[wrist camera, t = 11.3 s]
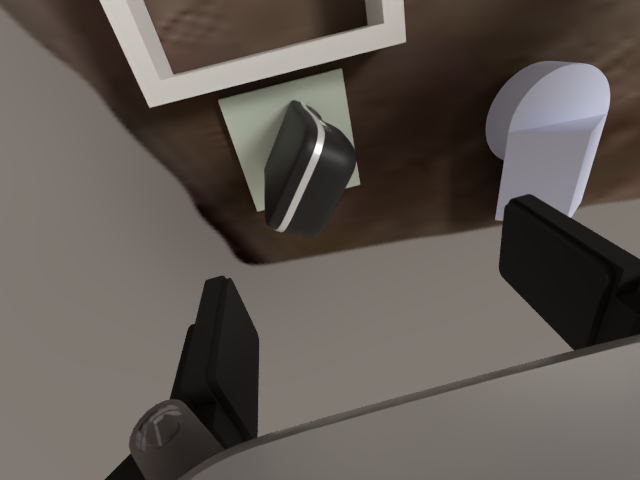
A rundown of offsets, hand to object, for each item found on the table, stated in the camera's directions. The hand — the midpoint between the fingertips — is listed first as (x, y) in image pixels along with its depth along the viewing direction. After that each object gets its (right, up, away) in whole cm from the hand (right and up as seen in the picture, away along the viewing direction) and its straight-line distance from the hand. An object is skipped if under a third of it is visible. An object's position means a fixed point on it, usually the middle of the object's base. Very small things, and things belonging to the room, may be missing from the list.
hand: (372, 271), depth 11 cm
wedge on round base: (+18, +11, +21) cm, 30 cm away
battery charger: (-4, +9, +18) cm, 20 cm away
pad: (-4, +9, +18) cm, 21 cm away
